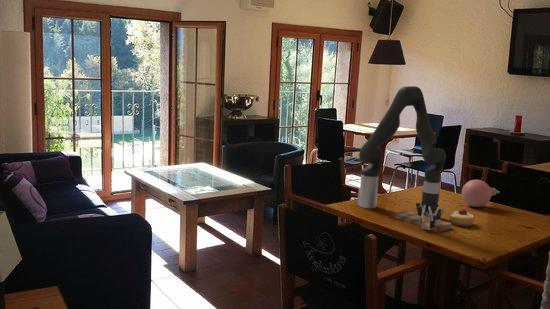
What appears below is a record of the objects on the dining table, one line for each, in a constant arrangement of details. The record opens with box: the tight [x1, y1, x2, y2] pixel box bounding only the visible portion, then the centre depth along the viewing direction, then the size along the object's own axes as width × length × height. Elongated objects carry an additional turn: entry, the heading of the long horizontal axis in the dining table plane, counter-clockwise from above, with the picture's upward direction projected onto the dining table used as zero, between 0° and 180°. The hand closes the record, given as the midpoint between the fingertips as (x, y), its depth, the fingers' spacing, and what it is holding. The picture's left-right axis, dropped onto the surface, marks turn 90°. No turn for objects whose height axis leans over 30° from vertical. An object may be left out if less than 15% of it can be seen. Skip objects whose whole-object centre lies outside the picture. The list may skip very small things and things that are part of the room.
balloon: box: [461, 179, 501, 208], centre depth 294 cm, size 15×20×15 cm
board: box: [393, 210, 453, 233], centre depth 258 cm, size 26×10×2 cm, turn 39°
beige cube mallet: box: [420, 214, 434, 231], centre depth 248 cm, size 4×10×6 cm, turn 129°
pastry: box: [448, 206, 475, 228], centre depth 259 cm, size 12×12×9 cm
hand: (427, 226), depth 246 cm, fingers closed on beige cube mallet, 4 cm apart
